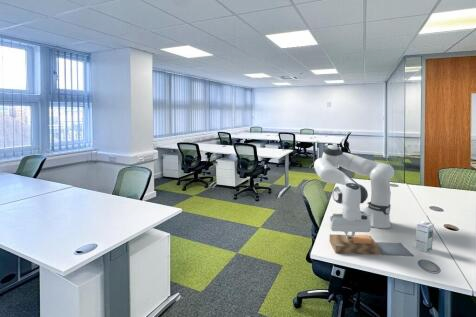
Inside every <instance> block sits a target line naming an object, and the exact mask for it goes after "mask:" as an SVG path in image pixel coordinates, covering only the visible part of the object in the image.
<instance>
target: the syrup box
mask: <svg viewBox="0 0 476 317" xmlns="http://www.w3.org/2000/svg"><path fill="white" fill-rule="evenodd" d="M434 225H435V223H431V222H429V221H425V220H421V221H419V222H417V223H416V229H415V230H416V232H415V245H414V248H415V249H416V250H418V251H420V252H422V253H423V252H424V253H428V252H430V251H432V250H433V249H432V248H433V240H434V239H433V238H434Z"/></svg>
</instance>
